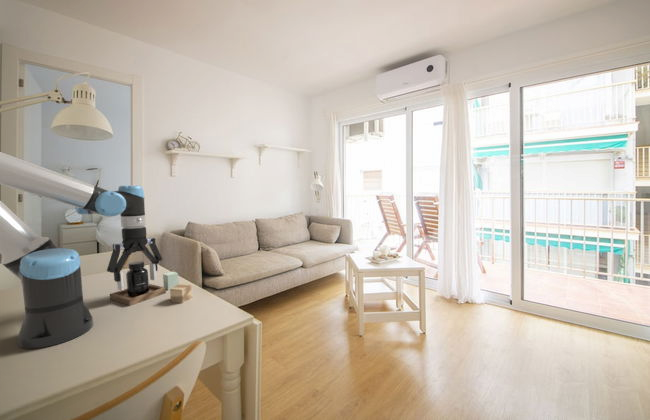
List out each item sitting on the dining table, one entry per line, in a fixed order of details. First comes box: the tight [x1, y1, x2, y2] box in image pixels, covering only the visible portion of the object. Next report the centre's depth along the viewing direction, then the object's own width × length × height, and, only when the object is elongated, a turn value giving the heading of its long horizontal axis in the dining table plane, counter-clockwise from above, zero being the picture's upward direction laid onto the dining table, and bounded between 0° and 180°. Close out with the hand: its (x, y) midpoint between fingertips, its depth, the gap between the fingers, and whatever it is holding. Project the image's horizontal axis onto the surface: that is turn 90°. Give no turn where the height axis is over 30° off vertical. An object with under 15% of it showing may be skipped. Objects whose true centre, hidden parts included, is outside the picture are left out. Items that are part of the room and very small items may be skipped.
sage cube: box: [162, 271, 179, 291], centre depth 113 cm, size 4×4×6 cm
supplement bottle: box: [125, 260, 150, 297], centre depth 104 cm, size 7×7×12 cm
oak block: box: [169, 283, 193, 304], centre depth 101 cm, size 5×5×5 cm
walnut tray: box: [109, 283, 167, 307], centre depth 104 cm, size 13×13×2 cm
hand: (137, 284), depth 104 cm, fingers open, 11 cm apart
